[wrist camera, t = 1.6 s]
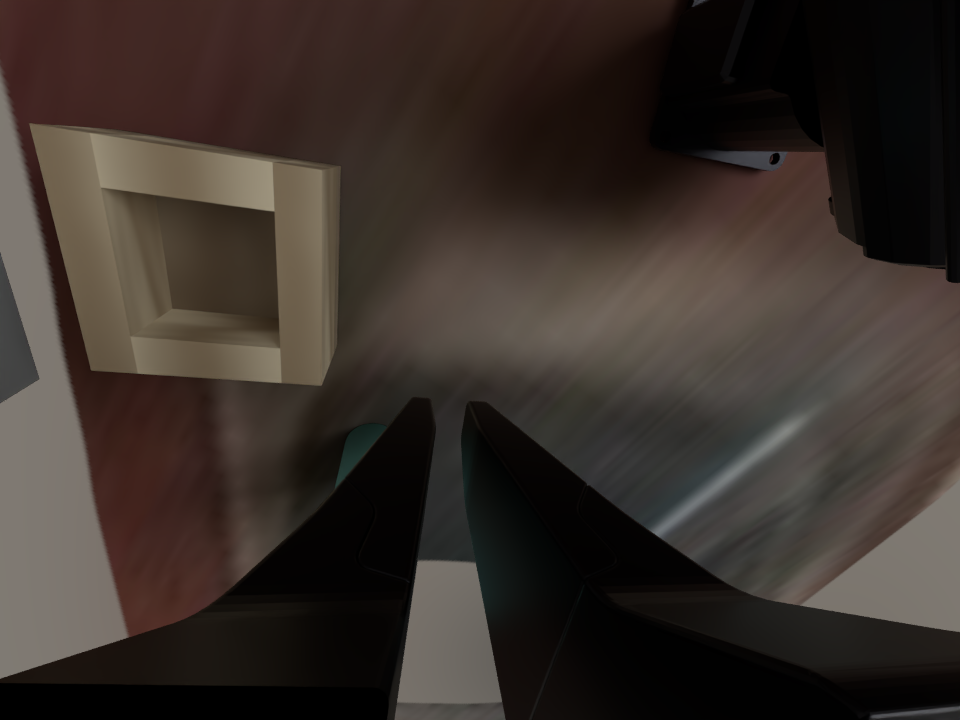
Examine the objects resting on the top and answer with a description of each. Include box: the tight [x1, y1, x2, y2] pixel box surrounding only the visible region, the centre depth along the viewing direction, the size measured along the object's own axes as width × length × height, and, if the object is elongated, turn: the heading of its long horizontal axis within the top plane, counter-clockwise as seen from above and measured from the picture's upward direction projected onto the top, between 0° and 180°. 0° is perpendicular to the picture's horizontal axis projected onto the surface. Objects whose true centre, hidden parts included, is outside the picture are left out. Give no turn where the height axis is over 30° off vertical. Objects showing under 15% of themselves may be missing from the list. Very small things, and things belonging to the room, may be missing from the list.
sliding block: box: [29, 123, 341, 386], centre depth 16 cm, size 8×8×4 cm
